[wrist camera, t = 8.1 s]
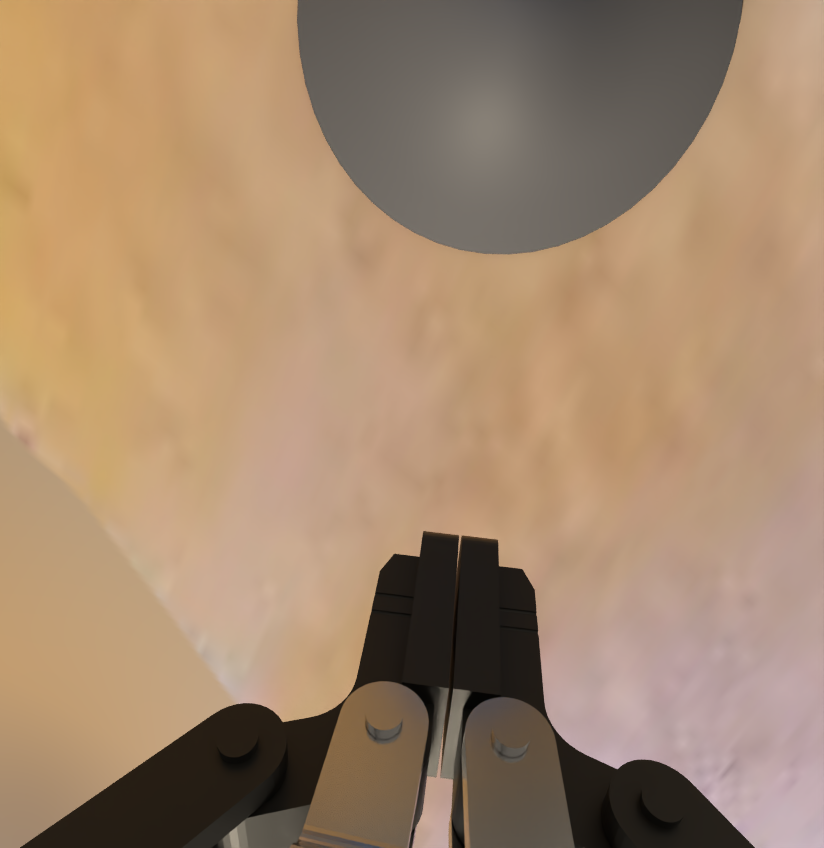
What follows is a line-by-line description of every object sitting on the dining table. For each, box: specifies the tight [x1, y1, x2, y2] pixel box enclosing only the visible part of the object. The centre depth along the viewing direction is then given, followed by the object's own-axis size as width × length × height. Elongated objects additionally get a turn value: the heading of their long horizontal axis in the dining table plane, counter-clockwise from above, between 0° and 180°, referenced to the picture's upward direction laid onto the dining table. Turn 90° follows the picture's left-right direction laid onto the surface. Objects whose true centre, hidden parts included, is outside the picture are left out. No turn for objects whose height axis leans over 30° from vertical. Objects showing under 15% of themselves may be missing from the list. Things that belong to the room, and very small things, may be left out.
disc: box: [297, 0, 743, 254], centre depth 17 cm, size 12×12×1 cm
